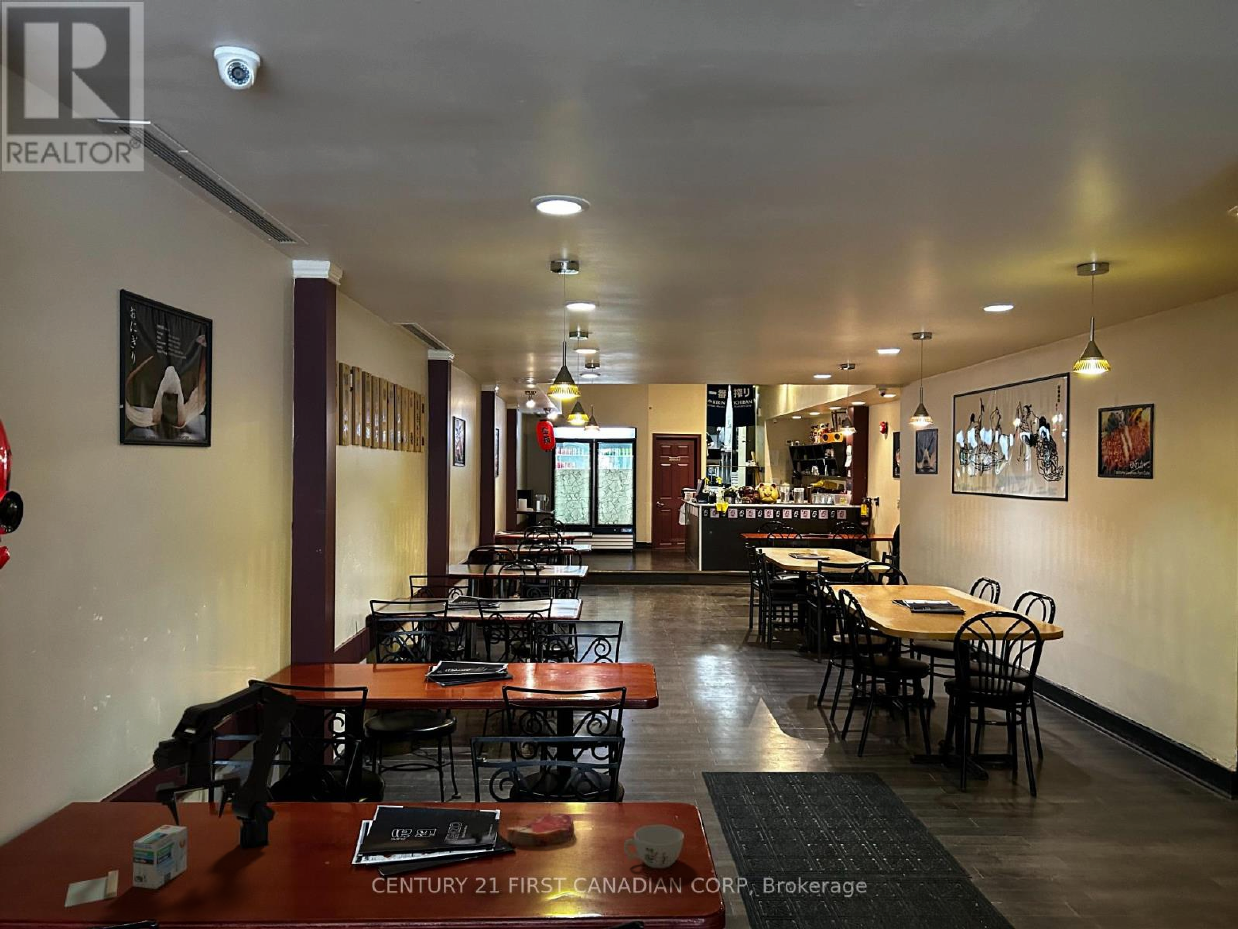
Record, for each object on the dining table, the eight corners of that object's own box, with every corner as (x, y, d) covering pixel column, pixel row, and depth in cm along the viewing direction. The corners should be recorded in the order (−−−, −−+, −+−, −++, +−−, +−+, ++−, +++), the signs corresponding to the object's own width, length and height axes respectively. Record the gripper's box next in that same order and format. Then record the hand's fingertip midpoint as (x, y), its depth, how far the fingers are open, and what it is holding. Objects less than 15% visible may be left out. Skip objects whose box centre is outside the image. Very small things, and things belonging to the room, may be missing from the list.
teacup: (679, 853, 220) (679, 822, 220) (687, 876, 208) (687, 843, 208) (621, 855, 219) (622, 824, 219) (626, 878, 207) (626, 845, 207)
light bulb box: (156, 891, 200) (156, 845, 200) (131, 888, 201) (131, 842, 201) (188, 870, 210) (188, 826, 210) (164, 867, 211) (164, 823, 212)
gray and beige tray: (118, 876, 206) (118, 870, 206) (116, 898, 196) (116, 891, 196) (69, 885, 202) (69, 879, 202) (64, 908, 191) (64, 902, 191)
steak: (578, 822, 241) (578, 802, 241) (599, 854, 221) (599, 832, 221) (490, 833, 234) (490, 813, 234) (504, 867, 214) (504, 845, 214)
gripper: (237, 743, 222) (237, 802, 222) (155, 754, 213) (156, 817, 213) (241, 756, 212) (241, 818, 212) (155, 768, 203) (155, 834, 203)
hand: (198, 821), depth 210 cm, fingers open, 9 cm apart
